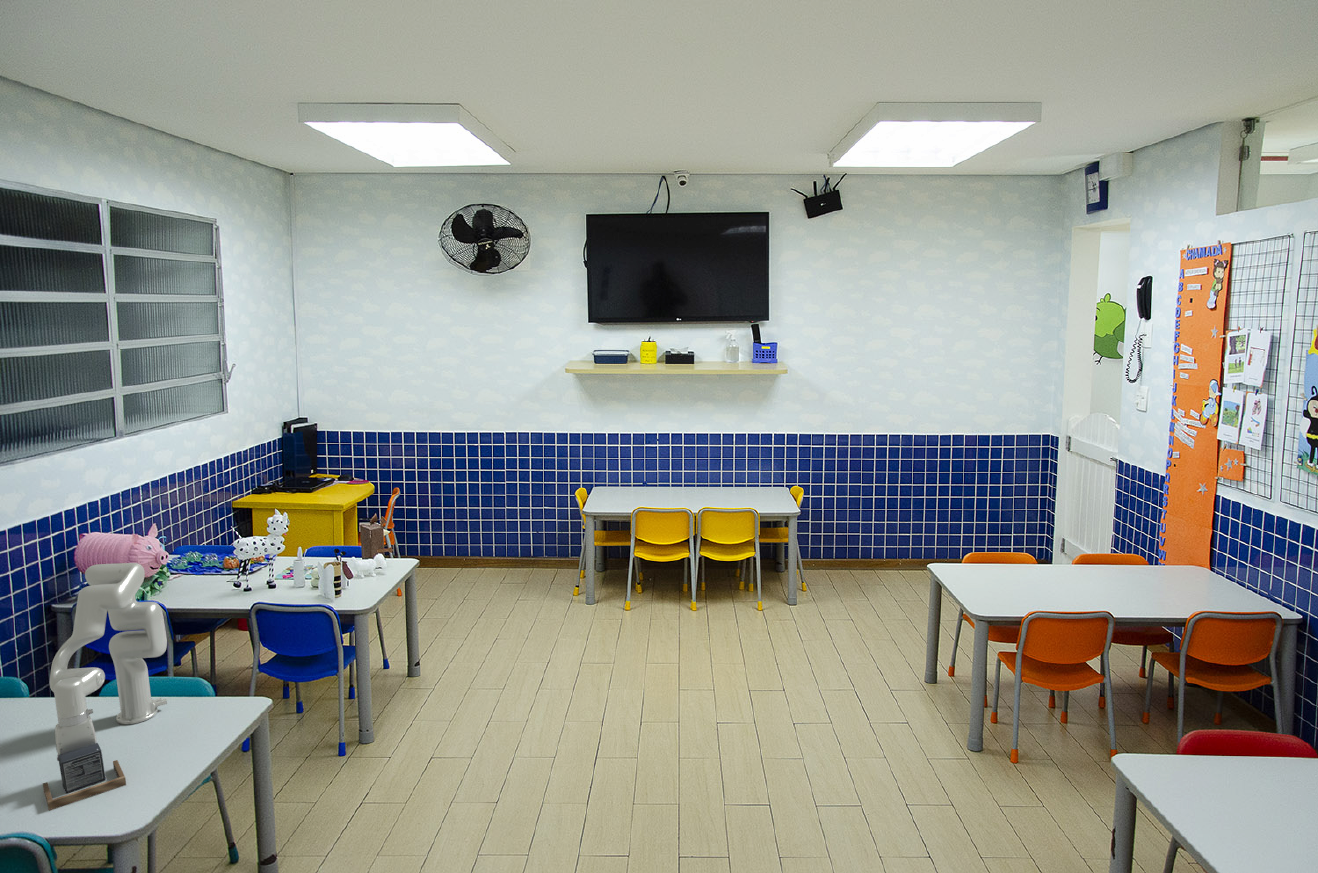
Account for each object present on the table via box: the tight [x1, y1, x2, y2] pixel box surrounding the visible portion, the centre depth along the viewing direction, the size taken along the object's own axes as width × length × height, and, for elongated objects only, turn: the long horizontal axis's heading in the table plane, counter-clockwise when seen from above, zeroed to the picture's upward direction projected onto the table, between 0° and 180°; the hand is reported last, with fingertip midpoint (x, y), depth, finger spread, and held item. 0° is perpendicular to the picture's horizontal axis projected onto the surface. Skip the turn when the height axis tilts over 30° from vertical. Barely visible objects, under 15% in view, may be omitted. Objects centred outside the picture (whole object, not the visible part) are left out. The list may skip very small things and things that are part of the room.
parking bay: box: [42, 759, 127, 811], centre depth 257 cm, size 19×13×2 cm
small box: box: [58, 742, 107, 795], centre depth 259 cm, size 11×6×10 cm, turn 133°
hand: (80, 772), depth 263 cm, fingers closed
